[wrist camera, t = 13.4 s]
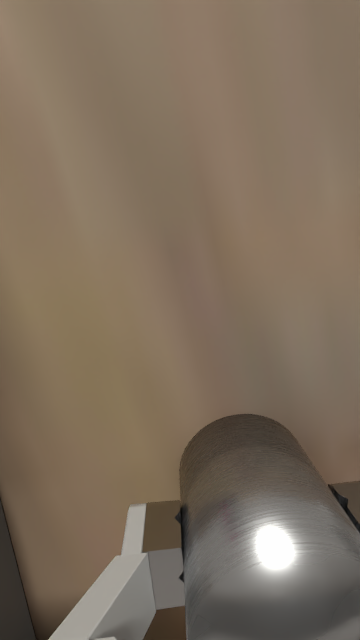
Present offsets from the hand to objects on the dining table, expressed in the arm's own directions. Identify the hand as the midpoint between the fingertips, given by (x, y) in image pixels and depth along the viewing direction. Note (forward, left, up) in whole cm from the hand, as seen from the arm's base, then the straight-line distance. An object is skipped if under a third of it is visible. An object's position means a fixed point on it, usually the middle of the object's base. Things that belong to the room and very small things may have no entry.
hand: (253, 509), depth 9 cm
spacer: (0, 0, -2) cm, 2 cm away
